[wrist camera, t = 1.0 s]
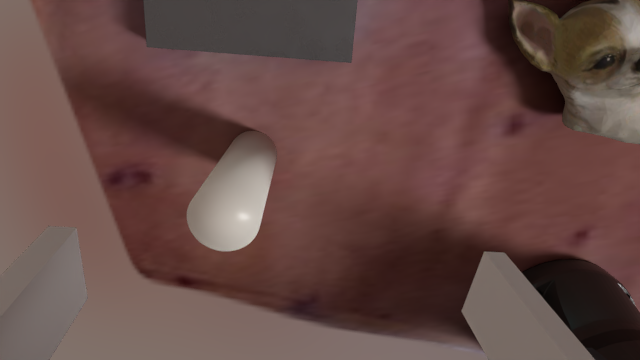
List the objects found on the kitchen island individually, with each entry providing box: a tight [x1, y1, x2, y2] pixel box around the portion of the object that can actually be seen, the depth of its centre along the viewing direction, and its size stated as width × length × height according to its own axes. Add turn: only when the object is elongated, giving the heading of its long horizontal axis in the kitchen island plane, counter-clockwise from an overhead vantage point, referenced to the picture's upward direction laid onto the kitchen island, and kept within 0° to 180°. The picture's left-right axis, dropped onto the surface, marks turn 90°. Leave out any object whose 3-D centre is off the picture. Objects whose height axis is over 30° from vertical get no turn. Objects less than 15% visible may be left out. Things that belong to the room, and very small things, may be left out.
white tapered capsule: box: [187, 131, 277, 251], centre depth 30 cm, size 4×4×14 cm
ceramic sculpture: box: [508, 0, 640, 144], centre depth 31 cm, size 11×9×15 cm
